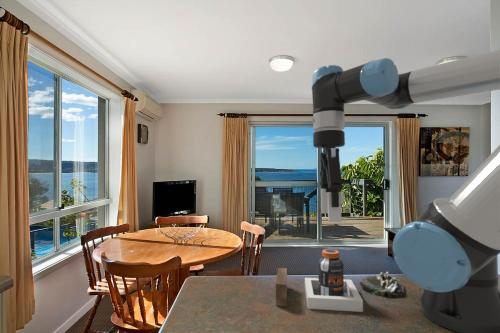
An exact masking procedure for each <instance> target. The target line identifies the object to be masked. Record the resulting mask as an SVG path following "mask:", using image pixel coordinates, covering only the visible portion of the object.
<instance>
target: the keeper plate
mask: <svg viewBox="0 0 500 333" xmlns="http://www.w3.org/2000/svg"><path fill="white" fill-rule="evenodd" d="M304 291H305V298H306V306H307V309H308V310H309V309H310V310H322V311H323V310H324V311H325V310H326V311H338V312H339V311H343V312H345V311H346V312H358V313H359V312H360V313H364V299H363V298H362V296H361V295H360V293H359V290H358V289H357V287H356V286H355V284H354V282H353V280H352V279H345V278H344V297H342V296H323V295H319V277H317V278H316V277H304Z"/></svg>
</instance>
